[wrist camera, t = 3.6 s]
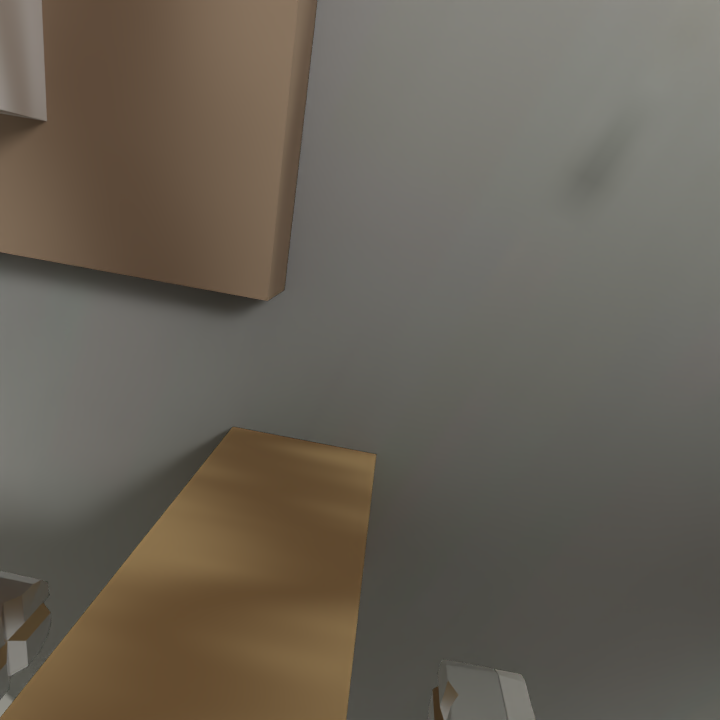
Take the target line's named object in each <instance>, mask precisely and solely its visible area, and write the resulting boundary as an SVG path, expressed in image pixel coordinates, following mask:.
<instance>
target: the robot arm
mask: <svg viewBox="0 0 720 720" xmlns="http://www.w3.org/2000/svg"><path fill="white" fill-rule="evenodd" d="M49 595H50V594H49V586H48V582H47V581H43V580H40V579H35V578H31V577H27V576H22V575H18V574H14V573H9V572H5V571H1V570H0V699H1V698H2V697H3V696H4V695H5V693H6V692H7V691H8V690H9V685H10V677H11V675H13V674H15V673H17V672H18V671H20V670H22V669H24V668H26V667H27V666H29V664H30V663H31V662H32V661H33V659H34V658H35V657H36V656H37V654H38V653H39V652H40V650H41V648H42V646H43V644H44V642H45V640H46V638H47V636H48V634H49V630H50V625H51V612H50V611H49V610H48V608H47V607H46V606H45V604H44V603H43V602H44V601H45V600H46V598H47V597H48V596H49ZM437 674H438V686H437V687H436V688H434V689H433V690H432V694H431V698H430V702H429V709H428V717H427V720H536V719H535V715H534V712H533V708H532V704H531V701H530V697H529V693H528V690H527V686H526V682H525V679H524V678H523V676H522V675H521V674H518V673H513V672H508V671H503V670H498V669H493V668H490V667H484V666H479V665H474V664H468V663H463V662H457V661H452V660H446V659H443V660H442V661H441V663H440V666H439V669H438V672H437Z"/></svg>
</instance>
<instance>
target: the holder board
mask: <svg viewBox="0 0 720 720" xmlns="http://www.w3.org/2000/svg"><path fill="white" fill-rule="evenodd" d="M316 8H317V0H0V252H2V253H8V254H13V255H19V256H24V257H30V258H35V259H40V260H46V261H51V262H57V263H62V264H68V265H73V266H79V267H84V268H90V269H95V270H101V271H106V272H112V273H117V274H123V275H128V276H134V277H139V278H145V279H150V280H156V281H161V282H167V283H172V284H177V285H183V286H188V287H194V288H199V289H205V290H210V291H216V292H221V293H227V294H232V295H238V296H243V297H249V298H254V299H260V300H265V301H268V300H270V299H271V298H273V297H274V296H276V295H277V294H279V293H280V292H282V291H284V290H285V281H286V272H287V263H288V254H289V246H290V237H291V228H292V219H293V210H294V202H295V193H296V184H297V175H298V167H299V158H300V149H301V140H302V131H303V123H304V114H305V105H306V96H307V87H308V79H309V70H310V61H311V52H312V43H313V35H314V26H315V17H316Z"/></svg>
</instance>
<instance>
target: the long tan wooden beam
mask: <svg viewBox="0 0 720 720" xmlns="http://www.w3.org/2000/svg"><path fill="white" fill-rule="evenodd" d="M375 461H376V454H372V453H367V452H362V451H357V450H351V449H346V448H341V447H336V446H331V445H326V444H320V443H315V442H310V441H305V440H300V439H294V438H289V437H284V436H279V435H274V434H268V433H263V432H258V431H253V430H248V429H243V428H237V427H232V428H231V430H230V431H229V432H228V433H227V435H226V436H225V437H224V438H223V440H222V441H221V442H220V443H219V445H218V446H217V447H216V448H215V450H214V451H213V452H212V453H211V455H210V456H209V457H208V458H207V460H206V461H205V462H204V463H203V465H202V466H201V467H200V468H199V470H198V471H197V472H196V473H195V475H194V476H193V477H192V478H191V480H190V481H189V482H188V483H187V485H186V486H185V487H184V488H183V490H182V491H181V492H180V493H179V495H178V496H177V497H176V498H175V500H174V501H173V502H172V503H171V505H170V506H169V507H168V508H167V510H166V511H165V512H164V513H163V515H162V516H161V517H160V518H159V520H158V521H157V522H156V523H155V525H154V526H153V527H152V528H151V530H150V531H149V532H148V533H147V535H146V536H145V537H144V538H143V540H142V541H141V542H140V543H139V545H138V546H137V547H136V548H135V550H134V551H133V552H132V553H131V555H130V556H129V557H128V558H127V560H126V561H125V562H124V563H123V565H122V566H121V567H120V568H119V570H118V571H117V572H116V573H115V575H114V576H113V577H112V578H111V580H110V581H109V582H108V583H107V585H106V586H105V587H104V588H103V590H102V591H101V592H100V593H99V595H98V596H97V597H96V598H95V600H94V601H93V602H92V603H91V605H90V606H89V607H88V608H87V610H86V611H85V612H84V613H83V615H82V616H81V617H80V618H79V620H78V621H77V622H76V623H75V625H74V626H73V627H72V628H71V630H70V631H69V632H68V633H67V635H66V636H65V637H64V638H63V640H62V641H61V642H60V643H59V645H58V646H57V647H56V648H55V650H54V651H53V652H52V653H51V655H50V656H49V657H48V658H47V660H46V661H45V662H44V663H43V665H42V666H41V667H40V668H39V670H38V671H37V672H36V673H35V675H34V676H33V677H32V678H31V680H30V681H29V682H28V684H27V685H26V686H25V687H24V689H23V690H22V691H21V692H20V694H19V695H18V696H17V697H16V699H15V700H14V701H13V702H12V704H11V705H10V706H9V707H8V709H7V710H6V711H5V712H4V714H3V715H2V716H1V717H0V720H346V717H347V708H348V699H349V690H350V682H351V673H352V664H353V655H354V646H355V638H356V629H357V620H358V611H359V602H360V593H361V585H362V576H363V567H364V558H365V549H366V540H367V532H368V523H369V514H370V505H371V496H372V487H373V479H374V470H375Z"/></svg>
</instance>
